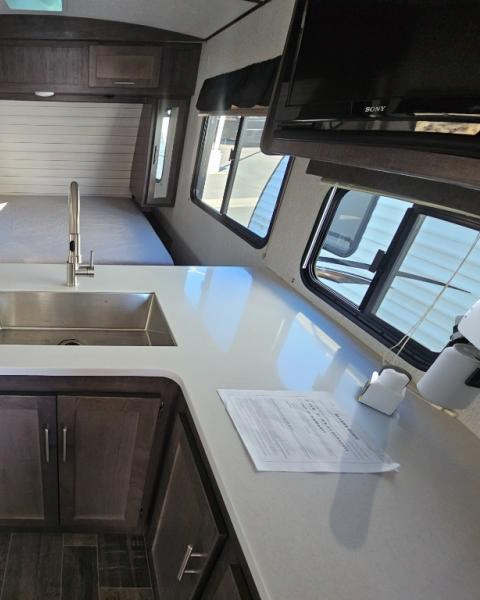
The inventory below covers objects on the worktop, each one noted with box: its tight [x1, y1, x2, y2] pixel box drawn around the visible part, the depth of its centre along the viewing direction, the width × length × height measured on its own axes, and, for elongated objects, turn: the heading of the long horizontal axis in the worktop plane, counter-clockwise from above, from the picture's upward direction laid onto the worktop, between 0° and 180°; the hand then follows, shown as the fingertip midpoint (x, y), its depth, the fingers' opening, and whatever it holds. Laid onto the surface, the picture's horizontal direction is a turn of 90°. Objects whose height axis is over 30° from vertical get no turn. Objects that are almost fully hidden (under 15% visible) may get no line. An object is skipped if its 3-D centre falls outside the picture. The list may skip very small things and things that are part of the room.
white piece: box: [358, 364, 413, 416], centre depth 88 cm, size 7×7×12 cm
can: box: [416, 343, 480, 411], centre depth 62 cm, size 8×8×12 cm
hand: (461, 371), depth 62 cm, fingers closed on can, 7 cm apart
